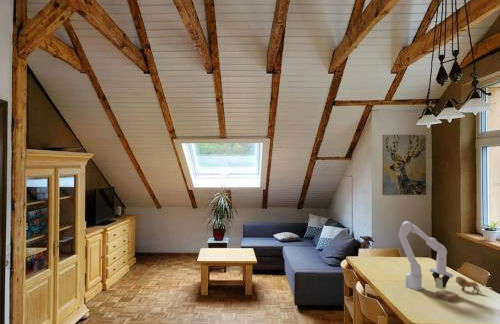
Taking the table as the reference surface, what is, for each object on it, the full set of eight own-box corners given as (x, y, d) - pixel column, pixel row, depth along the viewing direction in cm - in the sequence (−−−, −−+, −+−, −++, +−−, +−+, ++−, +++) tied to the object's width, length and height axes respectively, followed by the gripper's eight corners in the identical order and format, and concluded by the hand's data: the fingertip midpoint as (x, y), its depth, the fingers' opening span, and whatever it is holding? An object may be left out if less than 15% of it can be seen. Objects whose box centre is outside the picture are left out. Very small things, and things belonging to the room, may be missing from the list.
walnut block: (435, 297, 231) (435, 291, 231) (444, 295, 235) (444, 289, 235) (448, 302, 223) (449, 296, 223) (458, 300, 227) (458, 294, 227)
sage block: (435, 287, 242) (435, 278, 242) (439, 286, 244) (439, 277, 244) (441, 289, 238) (442, 280, 238) (446, 288, 240) (446, 279, 240)
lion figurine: (455, 291, 242) (456, 277, 242) (455, 288, 247) (455, 274, 247) (482, 294, 236) (482, 280, 236) (480, 291, 241) (481, 278, 241)
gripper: (455, 266, 236) (455, 288, 237) (434, 261, 249) (434, 281, 249) (449, 268, 233) (448, 289, 233) (428, 262, 245) (427, 282, 246)
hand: (440, 285), depth 241 cm, fingers closed on sage block, 4 cm apart
